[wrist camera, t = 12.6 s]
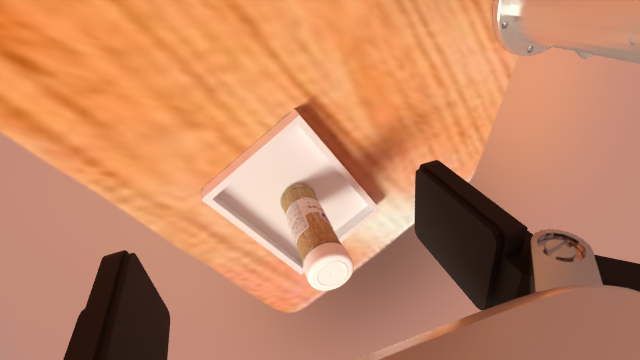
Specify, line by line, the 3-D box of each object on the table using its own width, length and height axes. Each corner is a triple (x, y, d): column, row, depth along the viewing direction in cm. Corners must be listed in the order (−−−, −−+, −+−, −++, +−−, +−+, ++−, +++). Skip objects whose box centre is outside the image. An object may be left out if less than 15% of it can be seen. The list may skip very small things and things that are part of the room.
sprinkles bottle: (321, 191, 44) (364, 264, 32) (300, 218, 45) (335, 297, 34) (292, 176, 41) (328, 248, 30) (271, 204, 42) (298, 285, 31)
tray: (374, 201, 48) (381, 210, 46) (297, 263, 49) (301, 274, 47) (294, 108, 38) (299, 115, 36) (201, 189, 39) (201, 199, 37)
